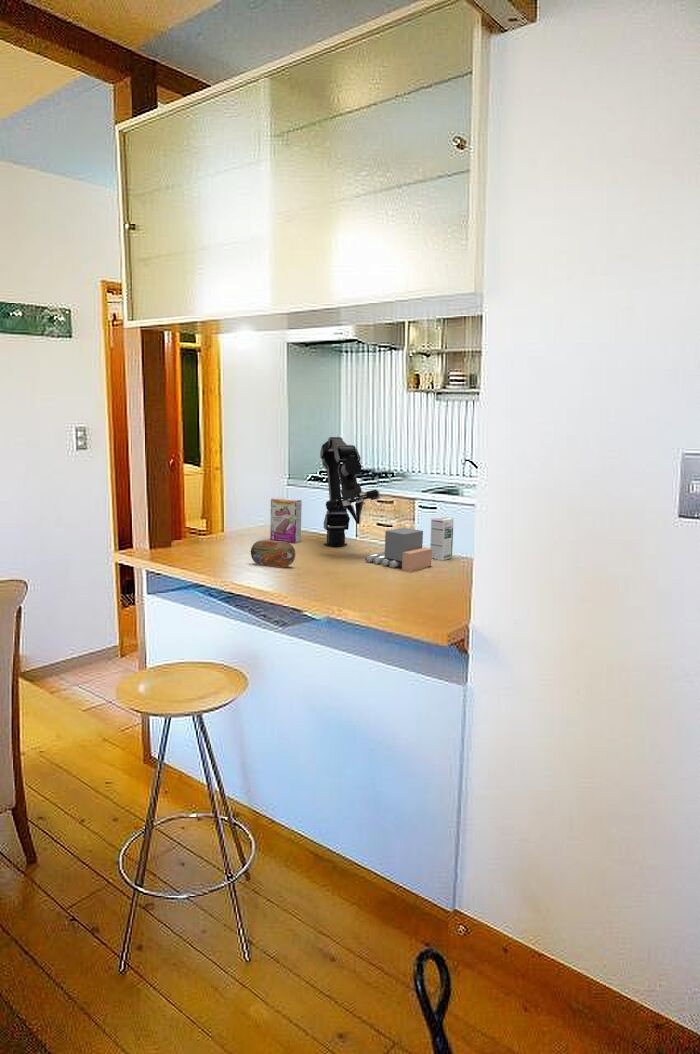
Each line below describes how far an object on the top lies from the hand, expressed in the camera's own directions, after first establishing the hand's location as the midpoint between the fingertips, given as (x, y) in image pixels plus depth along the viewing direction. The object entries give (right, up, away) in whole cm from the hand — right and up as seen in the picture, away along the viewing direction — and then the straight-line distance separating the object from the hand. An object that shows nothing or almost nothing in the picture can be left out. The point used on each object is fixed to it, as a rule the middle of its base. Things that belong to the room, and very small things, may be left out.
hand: (358, 524), depth 245 cm
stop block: (+19, -15, -12) cm, 27 cm away
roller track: (+11, -13, -5) cm, 18 cm away
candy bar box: (-28, -7, +27) cm, 39 cm away
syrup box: (+29, -12, +4) cm, 32 cm away
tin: (-28, -14, -14) cm, 34 cm away
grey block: (+15, -11, -9) cm, 21 cm away
